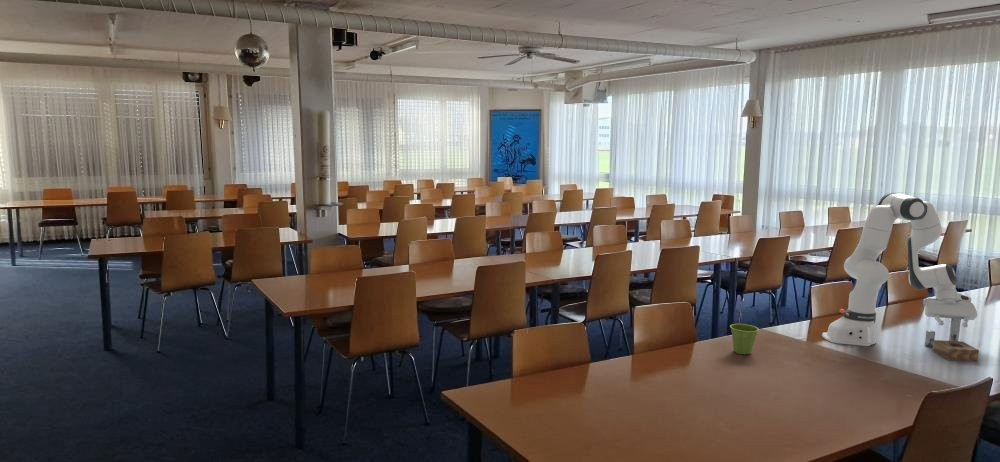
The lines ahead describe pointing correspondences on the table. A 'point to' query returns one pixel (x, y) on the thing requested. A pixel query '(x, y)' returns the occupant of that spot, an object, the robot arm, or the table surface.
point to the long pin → (954, 329)
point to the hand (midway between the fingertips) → (953, 325)
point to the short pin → (929, 338)
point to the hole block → (955, 350)
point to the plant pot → (743, 337)
